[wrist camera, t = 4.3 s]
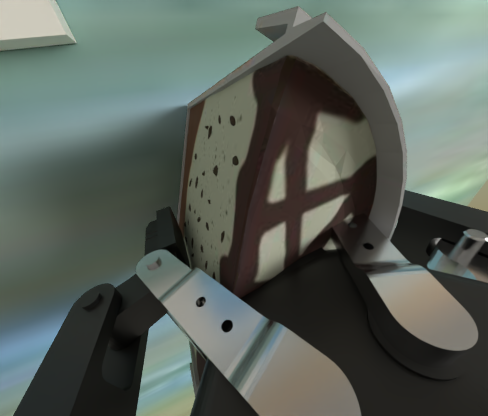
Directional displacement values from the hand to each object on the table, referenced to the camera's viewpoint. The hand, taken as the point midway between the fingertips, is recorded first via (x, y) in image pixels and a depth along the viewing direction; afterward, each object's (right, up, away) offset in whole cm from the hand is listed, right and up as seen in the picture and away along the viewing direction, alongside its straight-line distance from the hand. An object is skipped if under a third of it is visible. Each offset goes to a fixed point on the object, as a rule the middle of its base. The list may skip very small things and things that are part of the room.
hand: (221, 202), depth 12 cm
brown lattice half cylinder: (0, +2, +2) cm, 3 cm away
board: (-12, +11, -9) cm, 19 cm away
